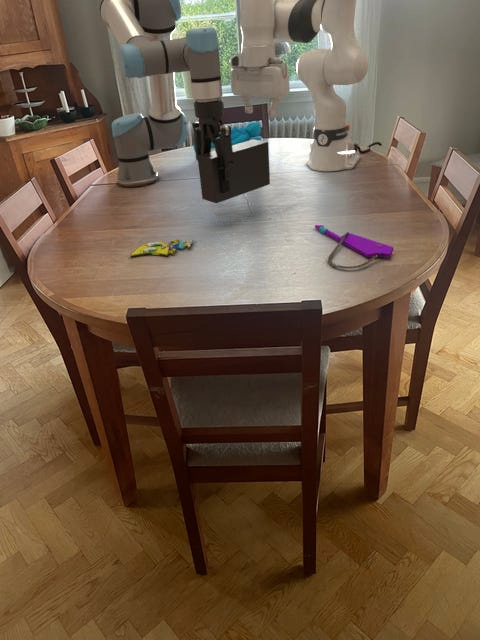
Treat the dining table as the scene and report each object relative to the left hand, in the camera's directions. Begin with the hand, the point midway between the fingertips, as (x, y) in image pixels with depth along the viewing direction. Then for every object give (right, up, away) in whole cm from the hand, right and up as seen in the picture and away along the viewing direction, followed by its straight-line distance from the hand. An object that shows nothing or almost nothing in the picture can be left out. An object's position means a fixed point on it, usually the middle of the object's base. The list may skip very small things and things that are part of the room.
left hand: (217, 189), depth 134 cm
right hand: (+12, +22, +2) cm, 25 cm away
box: (+5, +1, +5) cm, 7 cm away
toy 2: (+1, +36, +75) cm, 83 cm away
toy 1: (-14, -18, -5) cm, 23 cm away
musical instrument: (+32, -19, -14) cm, 40 cm away
